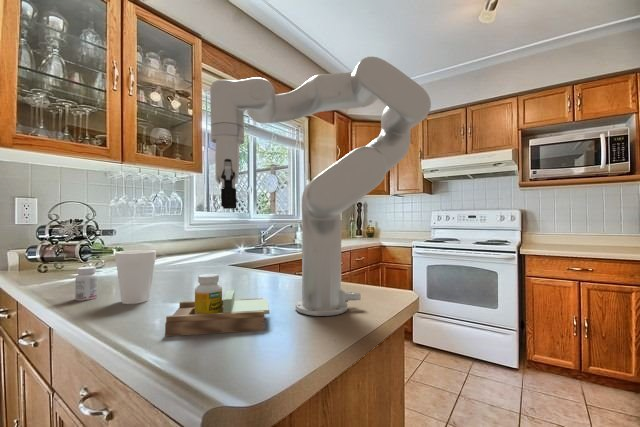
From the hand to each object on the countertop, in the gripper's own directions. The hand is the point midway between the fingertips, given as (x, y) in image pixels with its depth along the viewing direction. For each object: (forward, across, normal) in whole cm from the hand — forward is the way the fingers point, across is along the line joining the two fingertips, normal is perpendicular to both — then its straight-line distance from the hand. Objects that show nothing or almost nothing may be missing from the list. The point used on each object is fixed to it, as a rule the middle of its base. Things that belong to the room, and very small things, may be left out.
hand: (229, 207), depth 73 cm
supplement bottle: (+24, +7, -5) cm, 26 cm away
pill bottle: (+23, -23, -38) cm, 50 cm away
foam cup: (+24, -17, -25) cm, 38 cm away
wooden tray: (+24, +7, -2) cm, 26 cm away
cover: (+22, +8, +3) cm, 24 cm away
